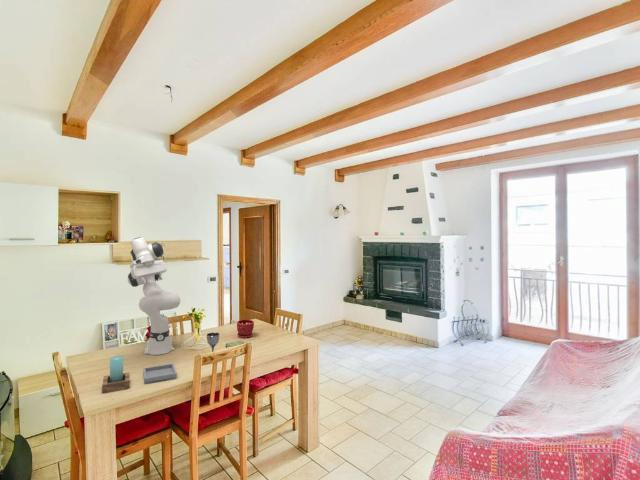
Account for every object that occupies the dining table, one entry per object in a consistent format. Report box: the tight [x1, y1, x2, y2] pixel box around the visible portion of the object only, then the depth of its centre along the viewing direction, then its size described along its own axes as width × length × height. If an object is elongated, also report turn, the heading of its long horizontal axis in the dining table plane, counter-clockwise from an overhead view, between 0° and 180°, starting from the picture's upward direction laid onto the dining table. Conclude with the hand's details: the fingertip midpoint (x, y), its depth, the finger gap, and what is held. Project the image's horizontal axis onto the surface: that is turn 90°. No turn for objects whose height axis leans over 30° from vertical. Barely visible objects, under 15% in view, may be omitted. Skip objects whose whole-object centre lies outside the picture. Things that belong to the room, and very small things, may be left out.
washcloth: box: [225, 340, 245, 348], centre depth 243 cm, size 13×18×3 cm
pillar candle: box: [109, 355, 124, 383], centre depth 180 cm, size 6×6×15 cm
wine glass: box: [206, 331, 220, 353], centre depth 224 cm, size 8×8×15 cm
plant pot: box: [236, 319, 255, 339], centre depth 269 cm, size 13×13×12 cm
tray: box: [142, 363, 178, 385], centre depth 194 cm, size 16×16×3 cm
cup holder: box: [101, 372, 131, 394], centre depth 180 cm, size 12×12×4 cm
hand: (153, 281), depth 207 cm, fingers open, 8 cm apart
